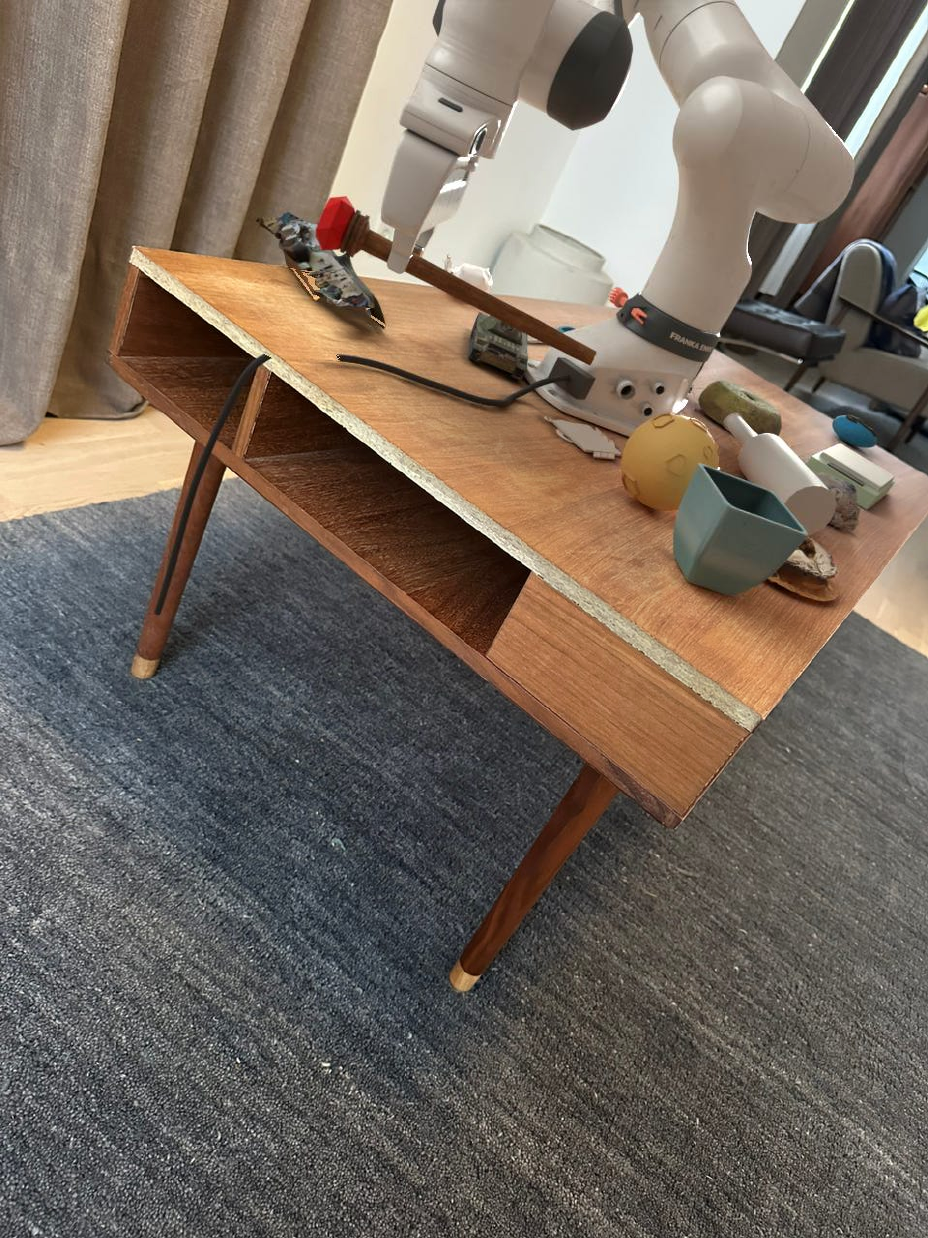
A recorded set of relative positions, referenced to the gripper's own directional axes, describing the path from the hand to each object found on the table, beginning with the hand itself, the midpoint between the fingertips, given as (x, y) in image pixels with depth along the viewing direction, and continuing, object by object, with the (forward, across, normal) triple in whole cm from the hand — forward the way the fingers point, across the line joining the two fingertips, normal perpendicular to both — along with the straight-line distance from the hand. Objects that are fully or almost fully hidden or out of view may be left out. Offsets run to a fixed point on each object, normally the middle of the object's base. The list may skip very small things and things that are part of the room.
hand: (402, 266), depth 90 cm
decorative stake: (0, -3, +21) cm, 21 cm away
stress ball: (+11, 0, +33) cm, 35 cm away
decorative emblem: (+11, -11, +30) cm, 33 cm away
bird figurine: (+8, -44, -2) cm, 44 cm away
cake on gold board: (+14, +4, +46) cm, 48 cm away
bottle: (+7, -13, +52) cm, 54 cm away
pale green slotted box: (+11, -50, +68) cm, 85 cm away
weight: (+11, -51, +48) cm, 71 cm away
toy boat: (+15, -22, -10) cm, 29 cm away
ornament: (+8, -78, +71) cm, 106 cm away
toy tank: (+11, -26, +11) cm, 30 cm away
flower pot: (+11, +12, +39) cm, 42 cm away
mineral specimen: (+11, -27, +58) cm, 65 cm away
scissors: (+10, -58, +22) cm, 63 cm away
